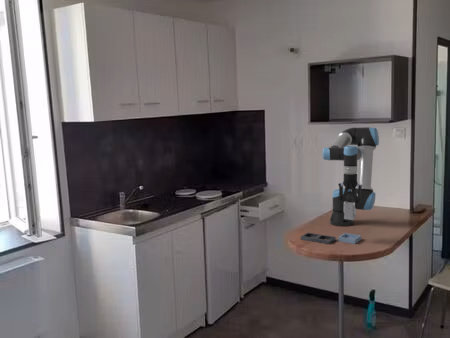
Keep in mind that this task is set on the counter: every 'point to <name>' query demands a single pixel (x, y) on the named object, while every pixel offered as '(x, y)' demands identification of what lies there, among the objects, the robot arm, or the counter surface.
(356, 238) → the parts tray
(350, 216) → the grey rectangular block
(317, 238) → the rack frame
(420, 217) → the counter surface
